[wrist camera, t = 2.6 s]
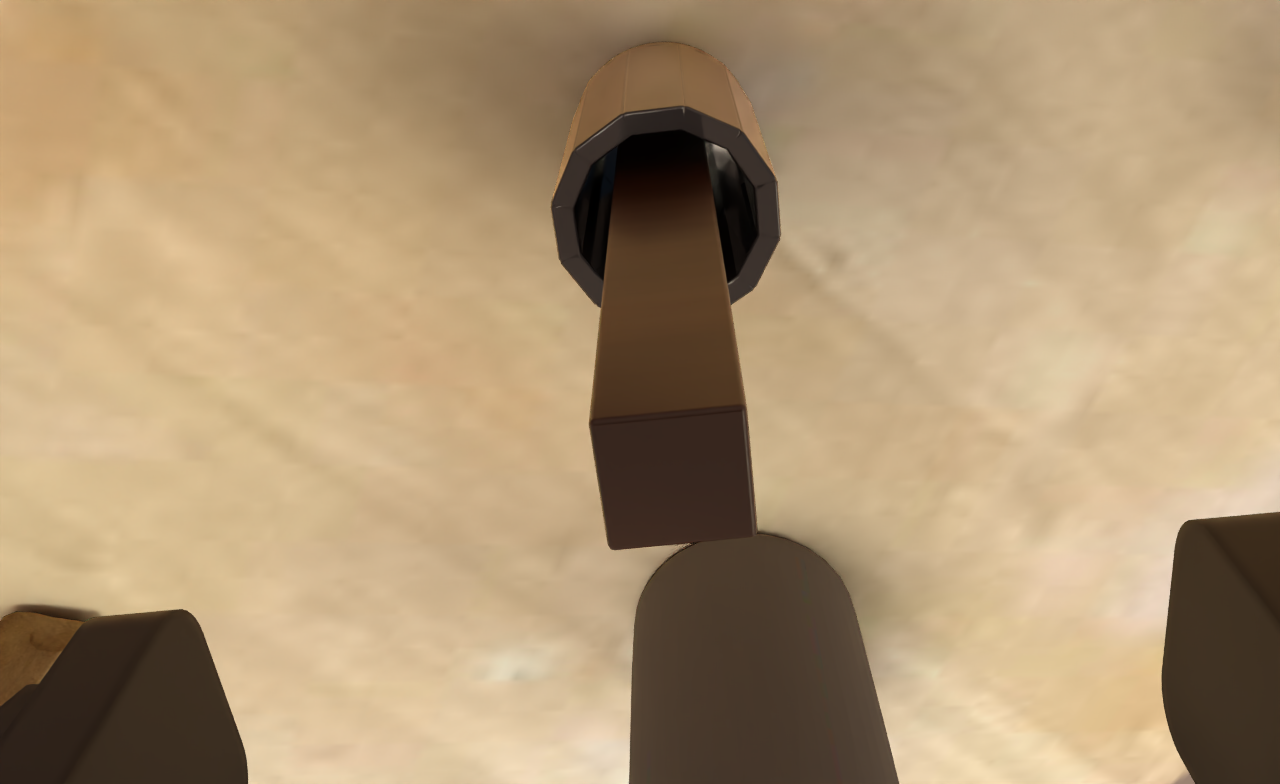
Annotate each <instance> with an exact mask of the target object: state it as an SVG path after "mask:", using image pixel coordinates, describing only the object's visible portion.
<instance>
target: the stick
mask: <svg viewBox="0 0 1280 784" xmlns="http://www.w3.org/2000/svg"><path fill="white" fill-rule="evenodd" d="M589 428H590V435H591V441H592V447H593V454H594V460H595V466H596V473H597V479H598V485H599V492H600V498H601V504H602V511H603V517H604V523H605V530H606V536H607V542H608V546H609V547H610V549H612V550H621V549H631V548H642V547H653V546H663V545H674V544H685V543H695V542H706V541H717V540H727V539H738V538H749V537H754V536H756V533H757V531H758V529H757V517H756V506H755V494H754V483H753V471H752V460H751V449H750V437H749V426H748V414H747V405H746V399H745V393H744V386H743V380H742V374H741V367H740V361H739V355H738V348H737V342H736V336H735V329H734V323H733V317H732V310H731V304H730V298H729V291H728V285H727V279H726V272H725V266H724V260H723V253H722V247H721V241H720V234H719V228H718V222H717V215H716V209H715V203H714V196H713V190H712V184H711V177H710V171H709V165H708V158H707V152H706V146H705V140H703V139H701V138H698V137H696V136H694V135H691V134H689V133H687V132H684V131H682V130H677V131H668V132H660V133H651V134H643V135H634V136H631V137H630V138H628V139H627V140H626V141H624V142H623V143H621V144H620V145H619V146H618V147H617V157H616V167H615V176H614V186H613V196H612V205H611V215H610V225H609V234H608V244H607V254H606V263H605V273H604V283H603V292H602V302H601V312H600V321H599V331H598V341H597V350H596V360H595V370H594V379H593V389H592V399H591V409H590V418H589Z"/></svg>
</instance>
